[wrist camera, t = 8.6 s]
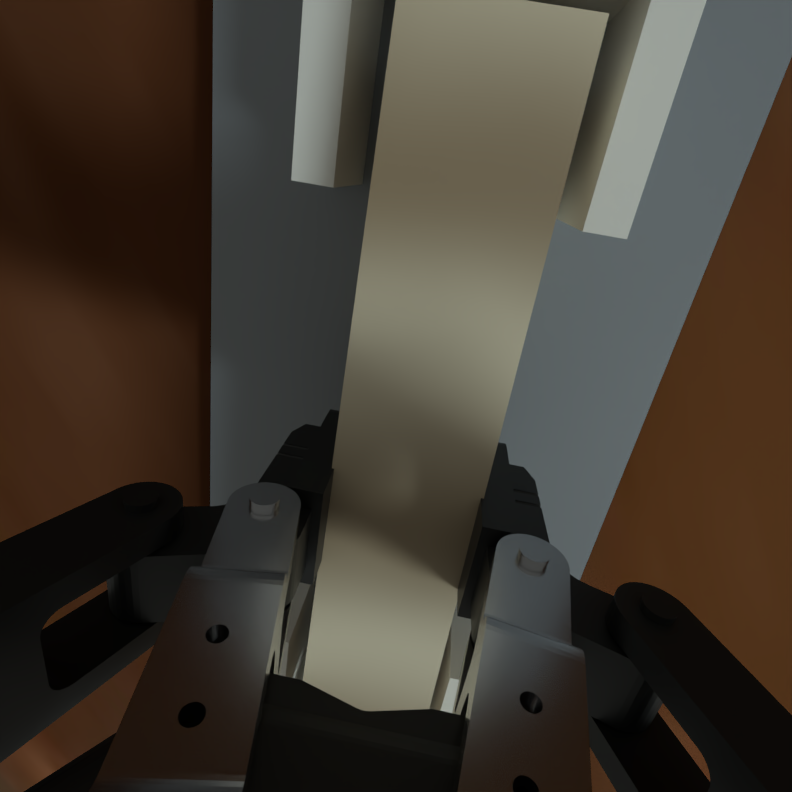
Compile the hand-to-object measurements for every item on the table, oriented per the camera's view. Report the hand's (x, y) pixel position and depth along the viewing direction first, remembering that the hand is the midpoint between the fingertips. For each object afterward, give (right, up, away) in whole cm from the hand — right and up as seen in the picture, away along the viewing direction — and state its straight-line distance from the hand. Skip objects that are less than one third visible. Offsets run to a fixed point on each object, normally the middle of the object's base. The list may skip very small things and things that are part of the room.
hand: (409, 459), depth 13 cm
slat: (0, 0, +1) cm, 1 cm away
